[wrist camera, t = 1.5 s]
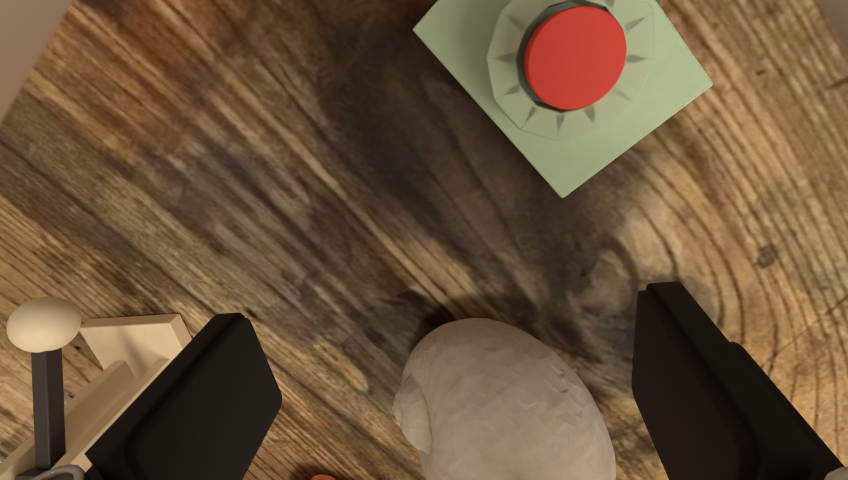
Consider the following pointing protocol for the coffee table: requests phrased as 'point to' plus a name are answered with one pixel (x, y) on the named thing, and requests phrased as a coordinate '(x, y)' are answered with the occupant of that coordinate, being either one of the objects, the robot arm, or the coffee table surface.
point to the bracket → (109, 382)
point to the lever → (45, 371)
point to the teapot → (323, 477)
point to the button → (575, 57)
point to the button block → (549, 126)
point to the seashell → (499, 408)
